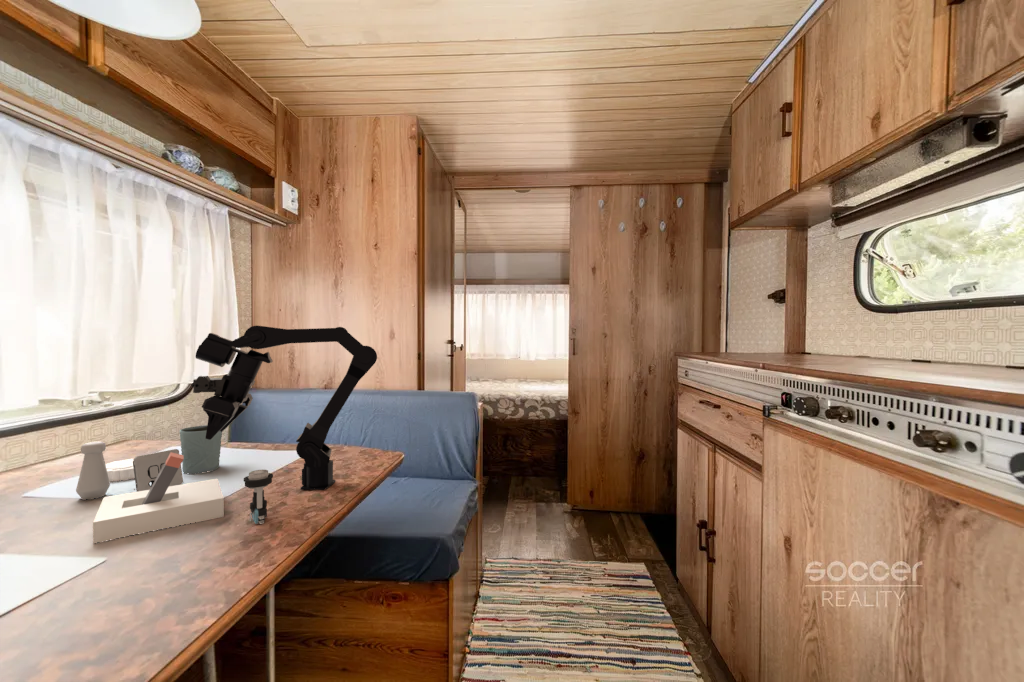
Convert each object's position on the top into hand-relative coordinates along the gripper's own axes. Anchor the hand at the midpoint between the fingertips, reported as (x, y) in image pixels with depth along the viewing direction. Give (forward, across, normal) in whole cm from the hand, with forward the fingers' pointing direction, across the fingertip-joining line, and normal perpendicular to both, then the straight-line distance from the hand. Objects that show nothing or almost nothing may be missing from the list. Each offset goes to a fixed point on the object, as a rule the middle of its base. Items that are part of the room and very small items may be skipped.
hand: (214, 434), depth 103 cm
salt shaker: (+24, -9, -19) cm, 32 cm away
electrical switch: (+20, -12, -9) cm, 24 cm away
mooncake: (+25, -28, -20) cm, 42 cm away
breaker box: (+16, +10, -1) cm, 19 cm away
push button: (+9, +19, +18) cm, 28 cm away
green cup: (+18, -27, -4) cm, 32 cm away
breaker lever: (+14, +10, -4) cm, 18 cm away
